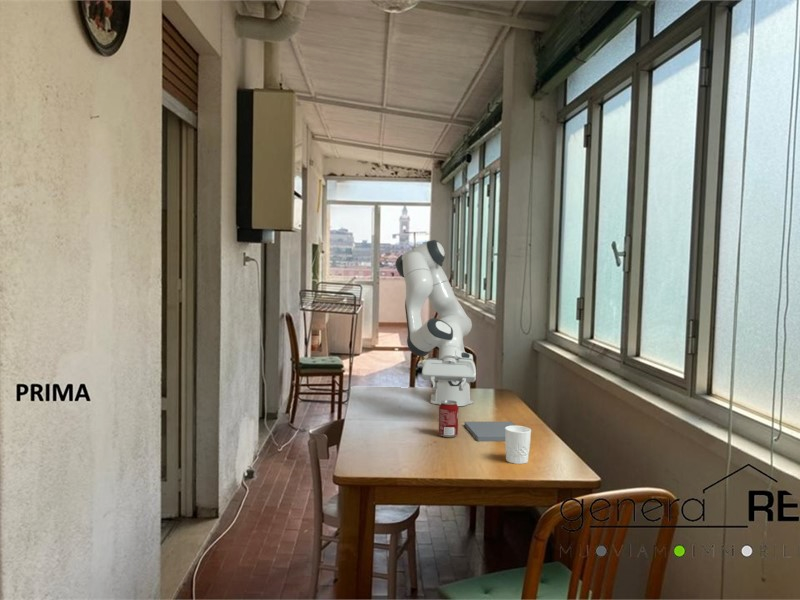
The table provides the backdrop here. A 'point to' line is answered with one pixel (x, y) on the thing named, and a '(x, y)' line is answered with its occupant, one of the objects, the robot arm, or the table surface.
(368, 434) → the table surface
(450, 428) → the soda can
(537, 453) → the table surface
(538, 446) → the table surface
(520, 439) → the white cup
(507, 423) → the slate board
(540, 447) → the table surface
